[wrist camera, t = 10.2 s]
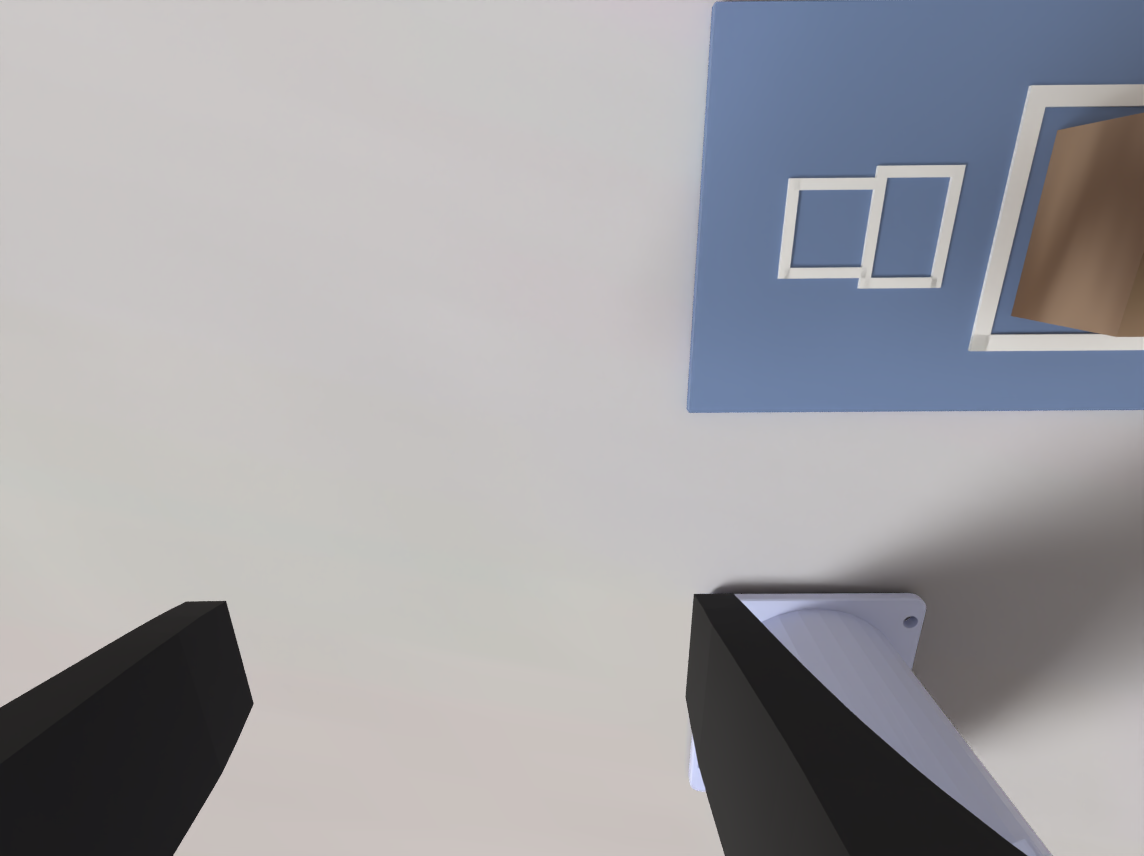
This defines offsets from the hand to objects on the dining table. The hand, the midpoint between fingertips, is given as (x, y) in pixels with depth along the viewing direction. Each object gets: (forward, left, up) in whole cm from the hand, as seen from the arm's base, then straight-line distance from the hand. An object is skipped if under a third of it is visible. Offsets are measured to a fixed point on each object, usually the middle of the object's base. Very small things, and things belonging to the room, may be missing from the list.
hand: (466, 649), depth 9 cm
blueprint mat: (+6, -13, -10) cm, 18 cm away
